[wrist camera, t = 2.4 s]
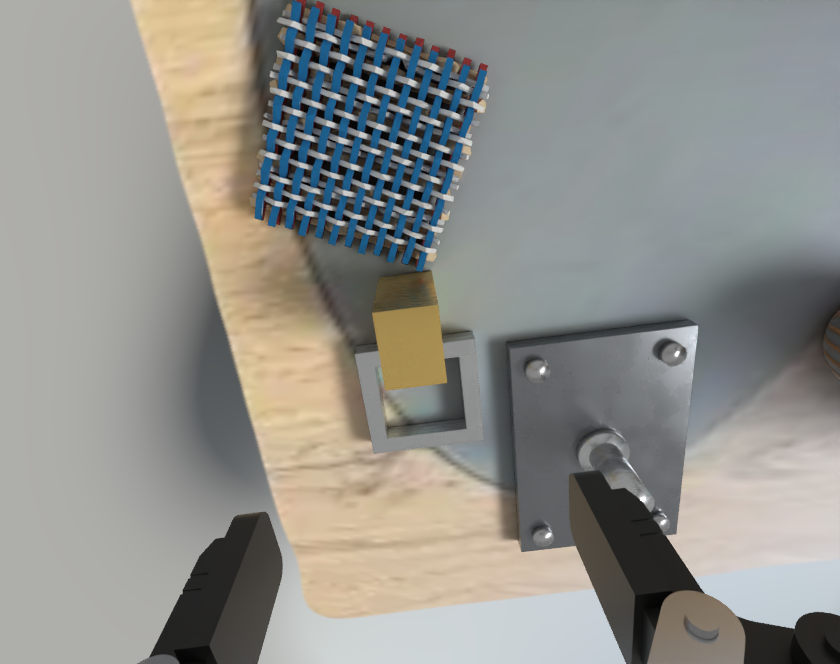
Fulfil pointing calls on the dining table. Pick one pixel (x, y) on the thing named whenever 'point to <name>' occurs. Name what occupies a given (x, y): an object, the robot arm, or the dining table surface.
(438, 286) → the dining table surface
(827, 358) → the vase
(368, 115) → the woven mat
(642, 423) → the toggle switch
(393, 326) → the end link
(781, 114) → the dining table surface
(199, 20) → the dining table surface
